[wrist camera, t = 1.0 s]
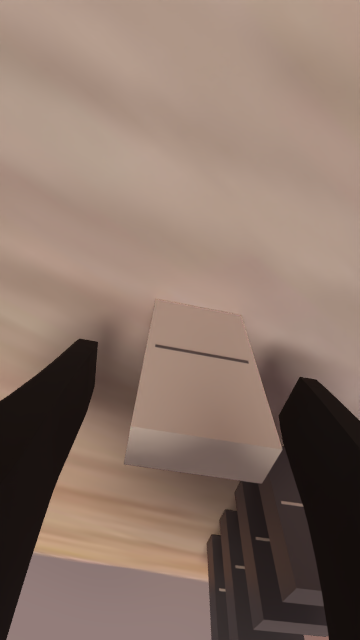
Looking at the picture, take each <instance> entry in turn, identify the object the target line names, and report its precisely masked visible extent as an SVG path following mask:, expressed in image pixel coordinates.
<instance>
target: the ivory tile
mask: <svg viewBox="0 0 360 640" xmlns="http://www.w3.org/2000/svg"><path fill="white" fill-rule="evenodd" d="M282 450H283V449H282V446H281V443H280V440H279V436H278V433H277V430H276V427H275V423H274V420H273V417H272V414H271V410H270V407H269V404H268V401H267V397H266V394H265V391H264V388H263V384H262V381H261V378H260V374H259V371H258V368H257V365H256V361H255V358H254V355H253V352H252V348H251V345H250V342H249V339H248V335H247V332H246V329H245V326H244V322H243V319H242V316H241V315H238V314H233V313H227V312H222V311H217V310H212V309H207V308H201V307H196V306H191V305H186V304H180V303H175V302H170V301H165V300H160V299H156V300H155V305H154V310H153V315H152V320H151V326H150V331H149V336H148V341H147V346H146V351H145V356H144V361H143V366H142V371H141V376H140V382H139V387H138V392H137V397H136V402H135V407H134V412H133V417H132V422H131V427H130V433H129V439H128V444H127V450H126V455H125V461H124V464H126V465H133V466H140V467H147V468H154V469H161V470H168V471H175V472H183V473H190V474H197V475H204V476H211V477H218V478H225V479H232V480H239V481H246V482H253V483H260V484H262V483H263V481H264V479H265V478H266V476H267V474H268V473H269V471H270V469H271V468H272V466H273V464H274V463H275V461H276V460H277V458H278V456H279V455H280V453H281V451H282Z"/></svg>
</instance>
